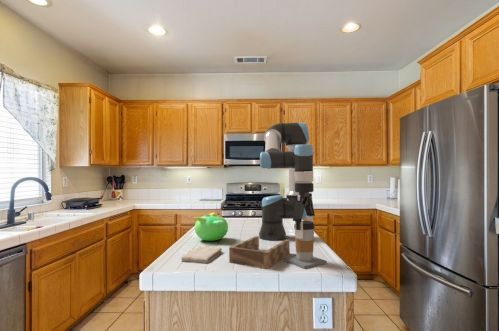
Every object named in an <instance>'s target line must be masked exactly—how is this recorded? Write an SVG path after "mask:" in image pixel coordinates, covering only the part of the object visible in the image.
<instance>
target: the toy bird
mask: <svg viewBox="0 0 499 331" xmlns="http://www.w3.org/2000/svg"><path fill="white" fill-rule="evenodd" d="M193 219H194V220H195V221H196V222H195V224H194V232H195V234H196V236H197V237H198V238H199V239H201V240H202V241H203V240H204V241H207V242H214V241H215V242H216V241H219V240H220V239H223V238H224V237H225V236H226V235H227V233H228V231H229V224H228V222H227V220H226V219H225V218H224V217H223V216H221V215H219V214H216V212H211V213H209V214H205V215H202V216H201V217H200V216H194V217H193Z"/></svg>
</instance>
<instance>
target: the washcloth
mask: <svg viewBox="0 0 499 331" xmlns="http://www.w3.org/2000/svg"><path fill="white" fill-rule="evenodd" d="M222 250H223V249H222V247H209V246H198V247H194V248H192V249H191V250H189V251H188V252H186V253H184V254H183V255H182V256H181V259H180V260H181V261H182V262H184V263H187V262H188V263H197V264H198V263H200V264H208V263H209V262H211V261H212V260H214V259H215V258H216V257H218V255H220V254H221V253H222Z"/></svg>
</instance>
